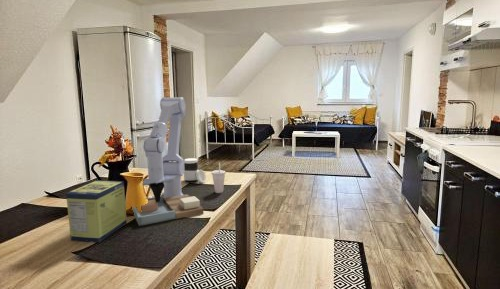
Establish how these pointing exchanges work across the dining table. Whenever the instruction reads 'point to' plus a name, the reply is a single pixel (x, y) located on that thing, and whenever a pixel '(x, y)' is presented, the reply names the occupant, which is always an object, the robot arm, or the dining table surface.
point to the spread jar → (193, 171)
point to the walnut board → (180, 212)
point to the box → (154, 214)
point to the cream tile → (189, 202)
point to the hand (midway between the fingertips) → (157, 201)
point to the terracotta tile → (149, 206)
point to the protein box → (96, 210)
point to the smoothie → (218, 180)
